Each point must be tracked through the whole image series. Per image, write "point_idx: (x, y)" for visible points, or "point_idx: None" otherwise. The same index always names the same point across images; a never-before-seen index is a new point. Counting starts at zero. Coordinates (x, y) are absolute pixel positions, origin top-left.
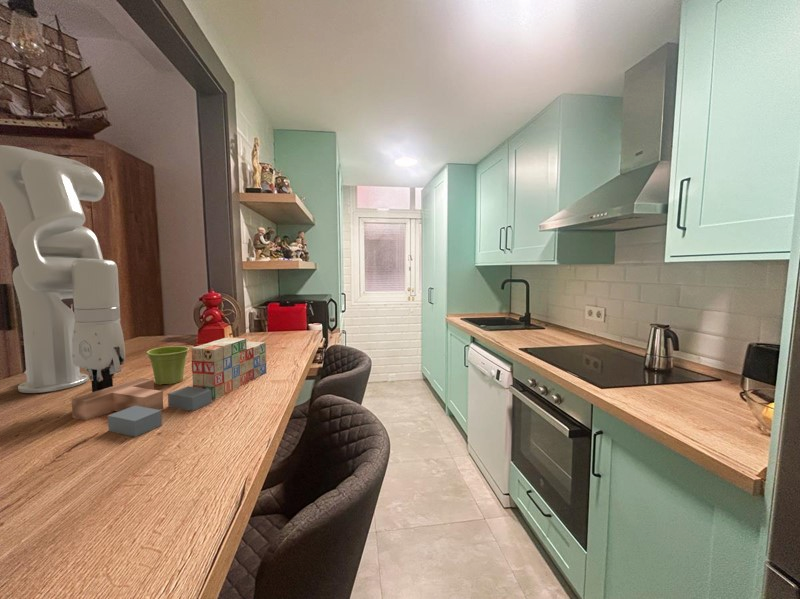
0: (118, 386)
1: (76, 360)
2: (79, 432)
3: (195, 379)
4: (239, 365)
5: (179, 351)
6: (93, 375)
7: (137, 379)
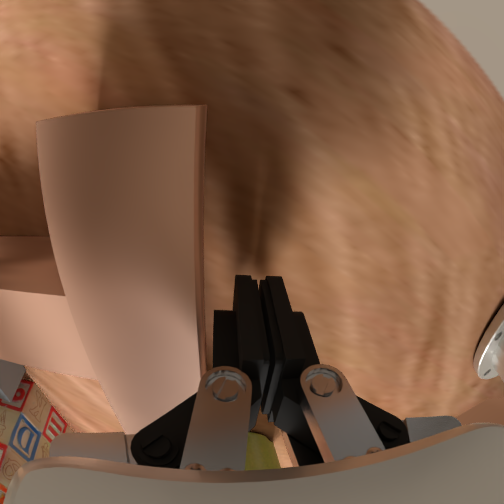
0: (161, 372)
1: (488, 478)
2: (15, 40)
3: (6, 425)
4: None
5: None
6: (306, 404)
7: None
